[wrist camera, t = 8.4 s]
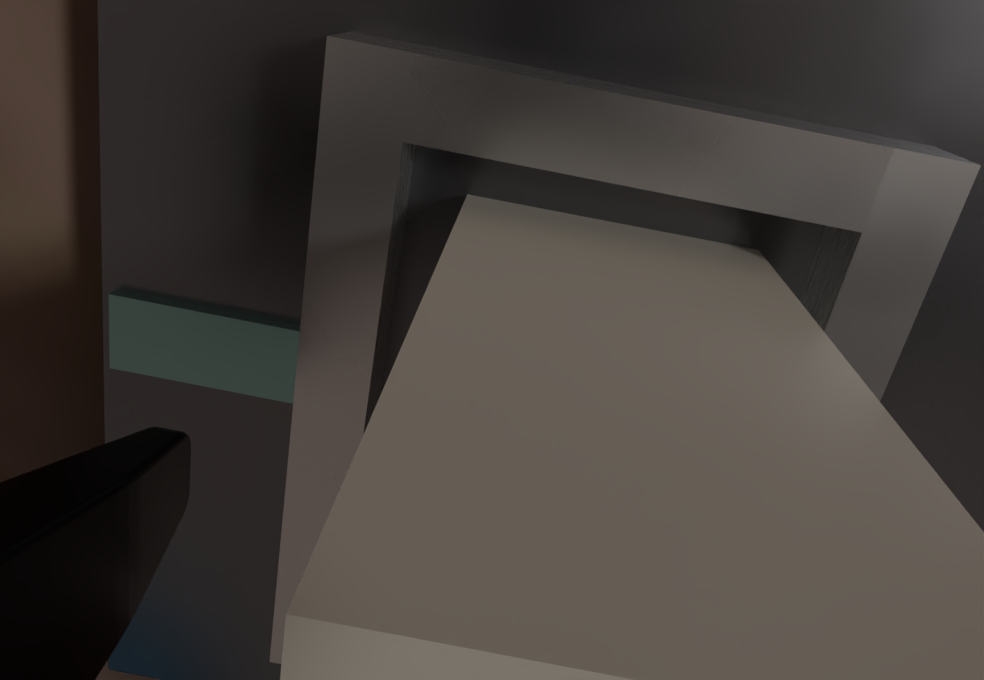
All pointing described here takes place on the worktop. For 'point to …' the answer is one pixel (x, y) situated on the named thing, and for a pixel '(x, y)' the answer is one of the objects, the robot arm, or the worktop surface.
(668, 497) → the plug
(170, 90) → the patch board
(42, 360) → the worktop surface
